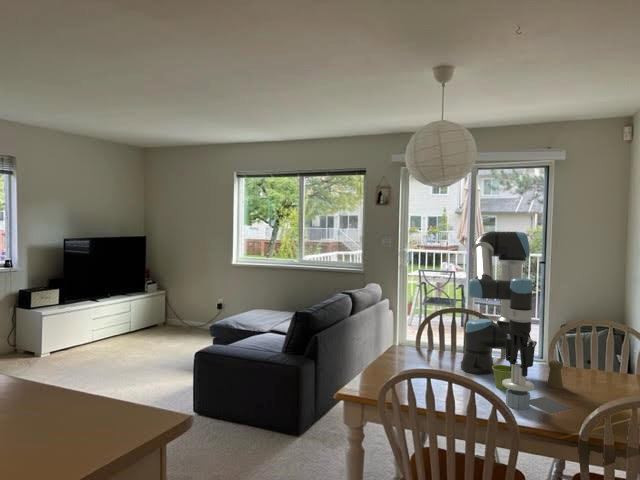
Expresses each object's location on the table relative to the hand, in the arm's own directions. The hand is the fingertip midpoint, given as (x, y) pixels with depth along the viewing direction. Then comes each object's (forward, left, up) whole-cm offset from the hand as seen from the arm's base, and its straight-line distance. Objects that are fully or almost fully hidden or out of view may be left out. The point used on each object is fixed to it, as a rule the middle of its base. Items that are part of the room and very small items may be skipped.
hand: (518, 382), depth 177 cm
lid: (0, 0, -1) cm, 1 cm away
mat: (+4, +11, -9) cm, 15 cm away
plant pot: (-16, +10, -9) cm, 21 cm away
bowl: (0, 0, -9) cm, 9 cm away
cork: (-9, +32, -9) cm, 35 cm away
